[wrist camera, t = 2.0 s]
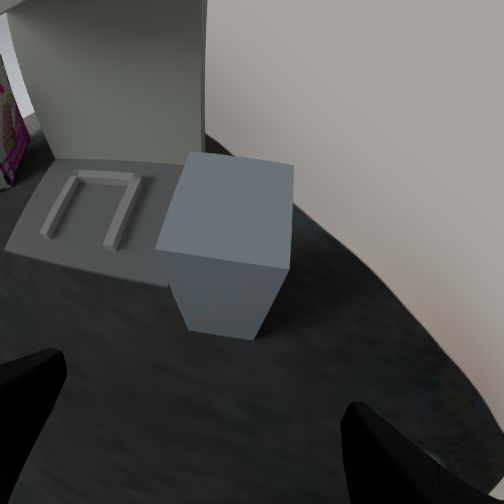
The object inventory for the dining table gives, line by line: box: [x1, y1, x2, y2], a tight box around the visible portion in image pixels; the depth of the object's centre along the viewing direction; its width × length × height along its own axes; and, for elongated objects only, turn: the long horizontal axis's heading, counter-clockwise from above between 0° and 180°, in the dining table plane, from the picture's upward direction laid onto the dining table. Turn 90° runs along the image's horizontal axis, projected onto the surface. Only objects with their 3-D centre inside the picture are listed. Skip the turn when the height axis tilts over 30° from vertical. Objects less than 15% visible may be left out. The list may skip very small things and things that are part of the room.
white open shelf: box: [0, 0, 207, 288], centre depth 16 cm, size 15×20×24 cm
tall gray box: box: [155, 151, 294, 340], centre depth 17 cm, size 6×5×12 cm
